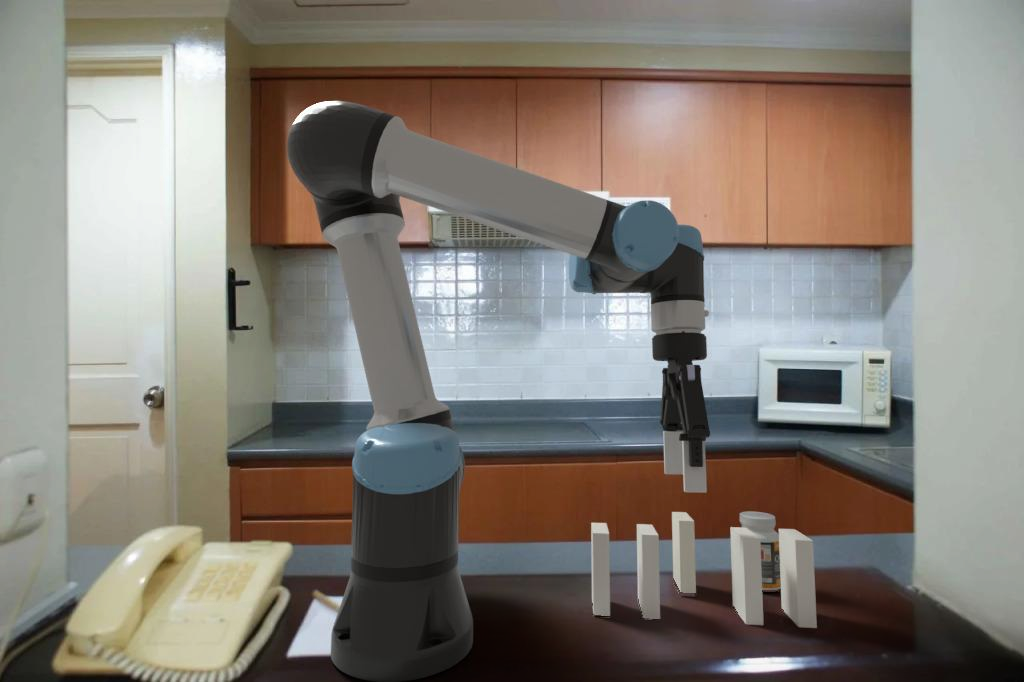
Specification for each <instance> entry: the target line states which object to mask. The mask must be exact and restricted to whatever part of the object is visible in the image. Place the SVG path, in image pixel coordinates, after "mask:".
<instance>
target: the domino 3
mask: <svg viewBox="0 0 1024 682" xmlns="http://www.w3.org/2000/svg"><path fill="white" fill-rule="evenodd" d="M671 531H672V533H671V534H672V537H671V538H672V579H673V578H674V580H675V582H676V584H677V586H678V588H679V590H680V592H683V593H696V594H697V587H696V586H697V583H696V582H697V581H696V580H697V579H696V541H695V539H696V538H695V535H696V534H695V520H694V519H693V518H692V517H691V515H689V513H687V512H686V511H685V512H684V511H671Z"/></svg>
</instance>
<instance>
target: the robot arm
mask: <svg viewBox="0 0 1024 682" xmlns="http://www.w3.org/2000/svg"><path fill="white" fill-rule="evenodd" d="M287 136H288V137H287V141H286V153H287V157H288V161H289V164H290V167H291V169H292V171H293V173H294V174H295V177H296V178H297V179H298V180H299V182H300V184H301V185H303V187H304V188H305V189H306V190H307V192H309V194H310V195H311V196H312V199H313V203H314V206H315V211H316V214H317V218H318V223H319V228H320V231H321V235H322V239H323V240H324V241H325V242H326V243H328V244H329V245H331V246H333V247H335V249H336V250H337V255H338V256H337V257H338V260H339V265H340V267H341V273H342V278H343V281H344V286H345V290H346V291H345V292H346V295H347V300H348V303H349V309H350V313H351V316H352V321H353V325H354V329H355V333H356V338H357V342H358V347H359V352H360V355H361V359H362V360H361V361H362V364H363V368H364V373H365V378H366V381H367V386H368V390H369V395H370V399H371V405H372V408H373V415H372V417H371V419H370V420H369V422H368V423H367V426H366V427H365V429H366V431H364V432H363V433H362V434H360V436H359V437H358V438H357V440H356V442H355V447H354V454H353V458H352V462H351V467H352V468H351V470H352V474H353V477H352V478H353V480H352V507H351V509H352V510H351V511H352V512H351V541H350V542H351V548H350V549H351V550H350V551H351V552H350V559H351V560H350V575H349V579H348V581H347V585H346V588H345V591H344V594H343V597H342V600H341V601H340V606H339V607H338V612H337V614H336V618H335V620H334V622H333V626H332V630H331V639H330V658H331V661H332V663H333V664H334V666H335V667H336V668H337V669H338V670H339V671H341V672H342V673H344V674H345V675H348V676H351V677H353V678H356V679H359V680H364V681H368V682H407V681H409V682H410V681H412V680H419V679H423V678H427V677H431V676H434V675H436V674H439V673H441V672H444V671H446V670H448V669H451V668H452V667H453V666H454V667H455V666H456V665H457V664H458V663H460V662H461V661H462V660H463V659H465V658H466V656H468V654H469V653H470V651H471V650H472V647H473V644H474V619H473V614H472V611H471V607H470V605H469V601H468V597H467V595H466V592H465V591H466V590H465V588H464V583H463V581H462V577H461V574H460V571H459V527H460V526H459V525H460V524H459V523H460V519H459V517H460V513H459V512H460V491H461V486H462V484H463V481H464V476H465V469H466V464H465V463H466V462H465V461H466V460H465V456H464V453H463V452H464V451H463V450H462V447H461V446H460V440H459V437H458V436H459V435H458V434H457V433H456V431H455V428H454V424H453V419H452V416H451V415H452V414H451V411H450V407H449V405H447V404H445V403H444V402H441V401H440V400H438V399H437V398H436V395H435V391H434V386H433V383H432V378H431V374H430V369H429V365H428V361H427V356H426V352H425V349H424V345H423V340H422V335H421V333H420V332H421V331H420V327H419V324H418V319H417V315H416V311H415V307H414V306H415V305H414V303H413V299H412V297H413V296H412V294H411V289H410V286H409V285H410V284H409V282H408V278H407V273H406V269H405V265H404V264H405V263H404V260H403V255H402V252H401V248H400V243H399V239H398V238H399V236H400V234H401V233H402V231H403V230H404V228H405V226H406V224H405V218H404V215H403V211H402V206H401V201H400V197H401V198H405V199H408V200H410V201H413V202H415V203H419V204H422V205H425V206H427V207H430V208H434V209H437V210H439V211H443V212H446V213H448V214H452V215H454V216H457V217H460V218H463V219H466V220H469V221H472V222H475V223H477V224H481V225H483V226H486V227H490V228H493V229H494V230H495V229H496V230H498V231H501V232H504V233H508V234H510V235H513V236H516V237H520V238H522V239H526V240H528V241H530V242H534V243H537V244H540V245H543V246H546V247H548V248H552V249H555V250H557V251H561V252H563V253H566V254H568V255H569V257H568V258H569V259H568V279H569V281H568V282H569V285H570V288H571V289H572V290H573V291H574V292H577V293H586V294H587V293H588V294H592V295H596V294H650V321H651V322H650V324H651V327H650V328H651V331H652V332H653V333H655V335H653V337H652V338H651V348H652V349H651V350H652V353H651V354H652V360H654V361H656V362H667V367H663V368H662V371H661V373H662V389H661V391H662V392H661V403H660V404H661V407H660V409H661V410H660V420H659V423H660V426H661V428H662V430H663V431H662V433H663V434H662V437H663V465H664V466H663V467H664V471H663V472H664V474H665V475H683V476H682V477H683V492H685V493H699V494H700V493H703V494H704V493H706V494H707V492H708V490H707V489H708V488H707V487H708V486H707V464H706V462H707V461H706V458H707V457H706V441H707V440H706V439H707V438H710V436H711V431H710V425H709V419H708V413H707V408H706V402H705V395H704V390H703V389H704V388H703V384H702V383H703V382H702V368H701V366H700V364H693V361H704V360H706V359H707V357H708V349H707V346H708V345H707V336H706V335H705V333H702V332H703V331H705V329H706V317H708V316H709V314H710V311H709V310H706V309H705V306H706V305H705V301H706V300H705V278H704V277H705V275H704V274H705V273H704V267H705V266H704V264H705V262H704V261H705V255H704V254H705V253H704V248H703V247H704V246H703V244H704V243H703V240H702V234H701V231H700V230H699V229H698V228H697V227H695V226H692V225H689V224H678V221H677V218H676V217H675V215H674V213H673V212H672V211H671V210H670V209H669V208H668V207H667V206H665V205H664V204H663V203H661V202H658V201H654V200H649V199H648V200H639V201H635V202H632V203H631V204H630V205H623V204H620V203H619V202H618V203H617V202H614V201H611V200H608V199H606V198H603V197H601V196H598V195H594V194H591V193H588V192H587V191H586V192H585V191H582V190H580V189H577V188H575V187H572V186H569V185H566V184H563V183H561V182H557V181H554V180H552V179H548V178H545V177H543V176H541V175H537V174H534V173H532V172H529V171H526V170H523V169H521V168H518V167H514V166H513V165H512V166H511V165H509V164H505V163H504V162H500V161H497V160H494V159H492V158H488V157H486V156H482V155H480V154H477V153H475V152H471V151H469V150H467V149H464V148H460V147H457V146H454V145H452V144H449V143H446V142H443V141H440V140H437V139H434V138H431V137H429V136H426V135H423V134H421V133H418V132H416V131H415V132H414V131H412V130H410V129H408V128H407V126H406V125H405V122H404V120H403V119H402V118H401V117H400V116H397V115H394V114H391V113H388V112H385V111H382V110H380V109H377V108H374V107H371V106H367V105H363V104H360V103H355V102H351V101H344V100H343V101H342V100H331V101H330V100H328V101H322V102H318V103H316V104H313V105H311V106H309V107H307V108H306V109H304V110H303V111H302V112H301V113H300V114H299V115H298V116H297V117H296V118H295V120H294V122H293V123H292V124H291V127H290V129H289V132H288V135H287Z"/></svg>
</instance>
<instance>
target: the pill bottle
mask: <svg viewBox="0 0 1024 682" xmlns="http://www.w3.org/2000/svg"><path fill="white" fill-rule="evenodd" d="M739 523H740V524H741V527H743V528H747V529H749V530H750V531H751V532H752V533H754V534H755V535H756V536H757V537H759V538H760V543H761V570H762V590H778V589H781V580H780V554H779V532H777V531H776V530H775V528H776V525H777V521H776V516H775V515H773V514H771V513H767V512H761V511H752V510H751V511H742V512H739Z"/></svg>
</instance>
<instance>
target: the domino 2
mask: <svg viewBox="0 0 1024 682" xmlns="http://www.w3.org/2000/svg"><path fill="white" fill-rule="evenodd" d="M636 554H637V555H636V556H637V557H636V559H637V560H636V562H637V565H636V566H637V569H636V570H637V575H636V576H637V600H638V599H639V604H640V607H641V610H640V612H641V611H642V613H641V616H642V615H643V616H642V619H643V618H645V619H644V620H647V619H646V618H649V619H648V620H652V619H660V620H661V601H660V600H661V595H660V594H661V593H660V586H661V585H660V584H661V583H660V541H659V534H658V532H657V530H656V528H655V527H654V525H653V524H646V523H636ZM639 604H638V605H639ZM640 607H639V608H640Z"/></svg>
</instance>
